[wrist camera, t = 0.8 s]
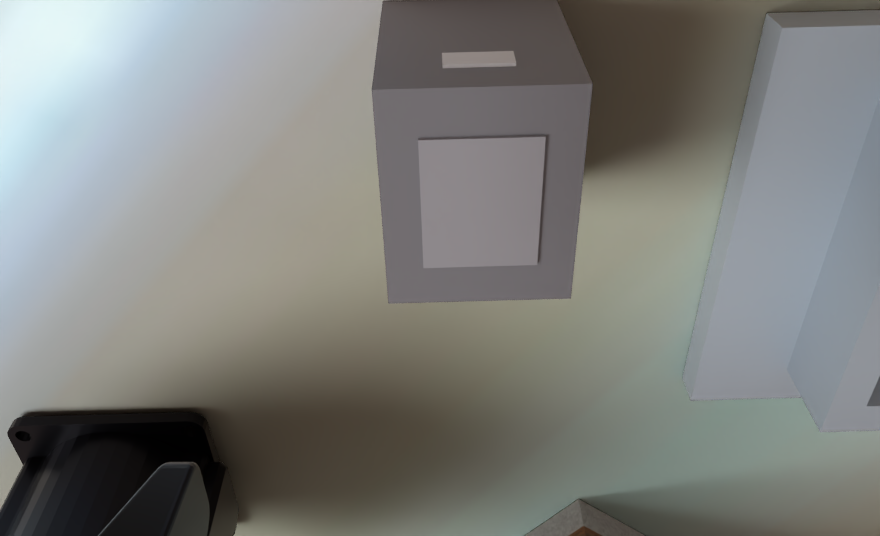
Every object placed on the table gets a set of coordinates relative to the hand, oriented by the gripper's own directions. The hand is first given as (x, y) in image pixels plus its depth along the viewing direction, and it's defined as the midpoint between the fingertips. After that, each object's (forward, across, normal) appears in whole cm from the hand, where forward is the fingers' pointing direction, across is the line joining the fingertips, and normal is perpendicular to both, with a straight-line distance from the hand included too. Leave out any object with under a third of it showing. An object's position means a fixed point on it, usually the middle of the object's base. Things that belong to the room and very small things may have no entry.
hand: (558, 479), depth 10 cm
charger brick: (+12, 0, 0) cm, 12 cm away
